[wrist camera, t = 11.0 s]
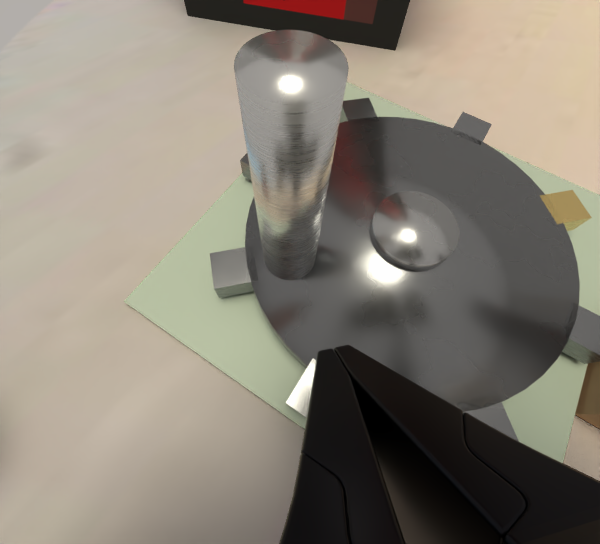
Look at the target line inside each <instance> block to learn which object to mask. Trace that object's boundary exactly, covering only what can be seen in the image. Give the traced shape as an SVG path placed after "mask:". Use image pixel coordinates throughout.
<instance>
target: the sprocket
mask: <svg viewBox="0 0 600 544" xmlns="http://www.w3.org/2000/svg"><path fill="white" fill-rule="evenodd" d="M234 70H235V77H236V83H237V89H238V96H239V102H240V109H241V115H242V122H243V128H244V135H245V141H246V147H247V154H246V155H245V156H244V157H243V158H242V159H241V160H240V162H241V167H242V173H243V176H245V177H246V178H248V179H250V180H252V186H253V192H254V197H253V200H252V203H251V206H250V209H249V213H248V218H247V223H246V234H245V247H243V248H237V249H231V250H226V251H220V252H214V253H210V261H211V269H212V277H213V286H214V290H215V292H216V293H217V295H218V297H219V298H221V297H227V296H232V295H237V294H242V293H247V292H253V291H254V294H255V297H256V299H257V301H258V304H259V306H260V309H261V311H262V314H263V315H264V317H265V319H266V321H267V322H268V324H269V326H270V328H271V329H272V331H273V333H274V334H275V335H276V337H277V338H278V339H279V340H280V342H281V343H282V344H283V346H284V347H285V348H286V350H287V351H288V352H289V353H290V354H291V355H292V356H293V357H294V358H295V359H296V360H297V361H298V362H299V363H300V364H301V365H302V366H303V367H304V368H306V370H305V372H304V374H303V375H302V377H301V379H300V380H299V382H298V384H297V385H296V387H295V388H294V390H293V392H292V393H291V395H290V397H289V398H288V400H287V402H286V404H287V405H288V406H290V407H291V408H293V409H294V410H296V411H297V412H298V413H300V414H301V415H303V416H304V417H306V418H307V414H308V408H309V401H310V395H311V389H312V383H313V377H314V371H315V365H316V359H317V353H318V351H320V350H325V349H330V348H332V349H334V348H335V347H339V346H343V345H351V346H353V347H354V348H356V349H358V350H359V351H361V352H363V353H365V354H366V355H368V356H370V357H372V358H373V359H375V360H377V361H378V362H380V363H382V364H384V365H385V366H387V367H389V368H390V369H392V370H394V371H396V372H397V373H399V374H401V375H402V376H404V377H406V378H408V379H409V380H411V381H413V382H415V383H416V384H418V385H420V386H421V387H423V388H425V389H427V390H428V391H430V392H432V393H433V394H435V395H437V396H439V397H440V398H442V399H444V400H446V401H447V402H449V403H451V404H452V405H454V406H456V407H458V408H459V409H461V410H462V411H463V413H464V412H466V413H468V414H470V415H472V416H473V417H475V418H477V419H478V420H480V421H482V422H484V423H486V424H487V425H489V426H491V427H493V428H495V429H496V430H498V431H500V432H502V433H504V434H505V435H507V436H509V437H511V438H513V439H515V440H517V441H518V438H517V436H516V434H515V431H514V429H513V427H512V425H511V422H510V420H509V418H508V415H507V413H506V411H505V408H504V406H503V404H502V401H505V400H507V399H509V398H511V397H512V396H514V395H516V394H518V393H520V392H522V391H523V390H525V389H527V388H528V387H529V386H530V385H532V384H533V383H534V382H535V381H537V380H538V379H539V378H540V377H542V376H543V375H544V374H545V373H546V372H547V370H548V369H549V368H550V367H551V366H552V365H553V364H554V362H555V361H556V360H557V359H558V357H559V356H560V354H561V352H564V353H565V354H567V355H569V356H571V357H573V358H575V359H576V360H578V361H580V362H582V363H584V364H588V363H594V362H600V316H599V315H597V314H595V313H593V312H591V311H589V310H587V309H585V308H583V307H581V306H579V291H580V280H579V272H578V264H577V260H576V256H575V252H574V249H573V245H572V242H571V240H570V237H569V235H568V232H567V231H570V230H574V229H575V228H577V227H578V226H580V225H581V224H583V223H584V222H586V221H588V220H589V219H591V218H592V217H591V216H590V214H589V213H588V211H587V210H586V208H585V207H584V206H583V204H582V203H581V201H580V200H579V198H578V197H577V195H576V194H575V192H574V191H573V190H568V191H562V192H557V193H551V194H544V192H543V191H542V190H541V189H540V188H539V187H538V186H537V184H536V183H535V182H534V181H533V180H532V179H531V178H530V177H529V176H528V175H527V174H526V173H525V172H524V171H523V170H522V169H520V168H519V167H518V166H517V165H516V164H515V163H513V162H512V161H511V160H509V159H508V158H507V157H505V156H504V155H503V154H501V153H500V152H498V151H497V150H495V149H494V148H492V147H490V146H489V145H487V144H486V143H484V142H482V141H483V140H484V138H485V136H486V134H487V132H488V130H489V128H490V127H491V125H492V124H490V123H487V122H485V121H483V120H481V119H478V118H476V117H474V116H471V115H469V114H467V113H464V112H463V113H462V114H461V116H460V118H459V119H458V121H457V123H456V124H455V126H454V128H450V127H447V126H443V125H440V124H436V123H433V122H428V121H423V120H418V119H412V118H402V117H377V115H376V113H375V110H374V108H373V106H372V103H371V101H370V99H369V98H362V99H354V100H346V101H343V99H344V93H345V88H346V82H347V76H348V62H347V59H346V57H345V55H344V53H343V52H342V51H341V49H340V48H339V47H338V46H337V45H335V44H334V43H333V42H331V41H330V40H328V39H326V38H324V37H322V36H320V35H317V34H314V33H311V32H306V31H300V30H278V31H272V32H267V33H264V34H261V35H259V36H257V37H255V38H253V39H251V40H250V41H248V42H247V43H246V44H244V45H243V46H242V47H241V49H240V50H239V51H238V53H237V55H236V58H235V61H234Z"/></svg>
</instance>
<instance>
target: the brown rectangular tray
mask: <svg viewBox="0 0 600 544" xmlns="http://www.w3.org/2000/svg"><path fill="white" fill-rule="evenodd" d="M575 415H576V416H578V417H580V418H582V419H583V420H585V421H587V422H588V423H590V424H592V425H594V426H595V427H597V428H599V429H600V362H594V363H588V365H587V369H586V373H585V377H584V381H583V385H582V389H581V393H580V397H579V401H578V405H577V409H576V412H575Z"/></svg>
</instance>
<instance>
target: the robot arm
mask: <svg viewBox="0 0 600 544" xmlns="http://www.w3.org/2000/svg"><path fill="white" fill-rule="evenodd" d="M279 544H600V481H598V480H596V479H594V478H592V477H590V476H588V475H586V474H584V473H582V472H580V471H578V470H576V469H573V468H571V467H569V466H567V465H565V464H563V463H561V462H559V461H557V460H555V459H553V458H551V457H549V456H547V455H545V454H543V453H541V452H539V451H537V450H535V449H533V448H531V447H529V446H527V445H525V444H523V443H521V442H519V441H517V440H515V439H513V438H511V437H509V436H507V435H505V434H504V433H502V432H500V431H498V430H496V429H495V428H493V427H491V426H489V425H487V424H486V423H484V422H482V421H480V420H478V419H477V418H475V417H473V416H472V415H470V414H468V413H466V412H464V413H463V411H462V410H461V409H459V408H458V407H456V406H454V405H452V404H451V403H449V402H447V401H446V400H444V399H442V398H440V397H439V396H437V395H435V394H433V393H432V392H430V391H428V390H427V389H425V388H423V387H421V386H420V385H418V384H416V383H415V382H413V381H411V380H409V379H408V378H406V377H404V376H402V375H401V374H399V373H397V372H396V371H394V370H392V369H390V368H389V367H387V366H385V365H384V364H382V363H380V362H378V361H377V360H375V359H373V358H372V357H370V356H368V355H366V354H365V353H363V352H361V351H359V350H358V349H356V348H354V347H353V346H351V345H343V346H339V347H335V348H334V349H332V348H330V349H325V350H320V351H318V353H317V359H316V365H315V371H314V377H313V383H312V389H311V395H310V401H309V408H308V414H307V420H306V426H305V432H304V438H303V444H302V450H301V455H300V461H299V467H298V473H297V478H296V482H295V487H294V492H293V497H292V501H291V505H290V508H289V512H288V516H287V519H286V523H285V527H284V530H283V533H282V537H281V540H280V543H279Z"/></svg>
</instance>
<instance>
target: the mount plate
mask: <svg viewBox="0 0 600 544" xmlns="http://www.w3.org/2000/svg"><path fill="white" fill-rule="evenodd" d="M362 98H369V99H370V101H371V103H372V106H373V108H374V110H375V113H376V115H377V117H402V118H412V119H418V120H423V121H428V122H433V123H436V124H440V123H437V122H435V121H433V120H431V119H429V118H426V117H424V116H422V115H420V114H417V113H415V112H413V111H411V110H408V109H406V108H404V107H402V106H400V105H397V104H395V103H393V102H391V101H388V100H386V99H384V98H382V97H379V96H377V95H375V94H373V93H371V92H368V91H366V90H364V89H362V88H359V87H357V86H355V85H353V84H350V83H348V82H346V88H345V93H344V99H343V101H346V100H354V99H362ZM440 125H442V124H440ZM443 126H444V125H443ZM490 147H491V146H490ZM492 148H493V147H492ZM494 149H495V148H494ZM495 150H497V151H498V152H500V153H501V154H503V155H504V156H505V157H507V158H508V159H509V160H511V161H512V162H513V163H515V164H516V165H517V166H518V167H519V168H520V169H522V170H523V171H524V172H525V173H526V174H527V175H528V176H529V177H530V178H531V179H532V180H533V181H534V182H535V183H536V184H537V186H538V187H539V188H540V189H541V190H542V191H543V192H544V194H551V193H557V192H562V191H568V190H573V191H574V192H575V194H576V195H577V197H578V198H579V200H580V201H581V203H582V204H583V206H584V207H585V208H586V210H587V211H588V213H589V214H590V216H591V217H592V218H591V219H589V220H588V221H586V222H584V223H583V224H581V225H580V226H578V227H577V228H575V229H574V230H570V231H567V232H568V235H569V237H570V240H571V242H572V245H573V249H574V252H575V256H576V260H577V264H578V272H579V280H580V291H579V306H581V307H583V308H585V309H587V310H589V311H591V312H593V313H595V314H597V315H599V316H600V195H598V194H596V193H594V192H591V191H589V190H587V189H585V188H583V187H580V186H578V185H576V184H574V183H571V182H569V181H567V180H565V179H562V178H560V177H558V176H556V175H553V174H551V173H549V172H547V171H545V170H542V169H540V168H538V167H536V166H533V165H531V164H529V163H527V162H524V161H522V160H520V159H518V158H516V157H513V156H511V155H509V154H507V153H504V152H502V151H500V150H498V149H495ZM253 197H254V192H253V186H252V180H250V179H248V178H246V177H245V176H243V173H242V174H241V175H240V176H239V177H238V178H237V179H236V180H235V181H234V182H233V184H232V185H231V186H230V187H229V188H228V189H227V190H226V191H225V192H224V193H223V194H222V196H221V197H220V198H219V199H218V200H217V201H216V202H215V203H214V204H213V205H212V206H211V207H210V209H209V210H208V211H207V212H206V213H205V214H204V215H203V216H202V217H201V218H200V219H199V220H198V222H197V223H196V224H195V225H194V226H193V227H192V228H191V229H190V230H189V231H188V232H187V233H186V235H185V236H184V237H183V238H182V239H181V240H180V241H179V242H178V243H177V244H176V245H175V247H174V248H173V249H172V250H171V251H170V252H169V253H168V254H167V255H166V256H165V257H164V258H163V260H162V261H161V262H160V263H159V264H158V265H157V266H156V267H155V268H154V269H153V270H152V271H151V273H150V274H149V275H148V276H147V277H146V278H145V279H144V280H143V281H142V282H141V283H140V284H139V286H138V287H137V288H136V289H135V290H134V291H133V292H132V293H131V294H130V295H129V296H128V297H127V299H126V300H125V301H124V302H125V303H126V304H128V305H129V306H131V307H132V308H134V309H135V310H136V311H138V312H139V313H141V314H142V315H143V316H145V317H146V318H148V319H149V320H151V321H152V322H153V323H155V324H156V325H158V326H159V327H160V328H162V329H163V330H165V331H166V332H167V333H169V334H170V335H172V336H173V337H175V338H176V339H177V340H179V341H180V342H182V343H183V344H184V345H186V346H187V347H189V348H190V349H192V350H193V351H194V352H196V353H197V354H199V355H200V356H201V357H203V358H204V359H206V360H207V361H209V362H210V363H211V364H213V365H214V366H216V367H217V368H218V369H220V370H221V371H223V372H224V373H225V374H227V375H228V376H230V377H231V378H233V379H234V380H235V381H237V382H238V383H240V384H241V385H242V386H244V387H245V388H247V389H248V390H250V391H251V392H252V393H254V394H255V395H257V396H258V397H259V398H261V399H262V400H264V401H265V402H267V403H268V404H269V405H271V406H272V407H274V408H275V409H276V410H278V411H279V412H281V413H282V414H284V415H285V416H286V417H288V418H289V419H291V420H292V421H293V422H295V423H296V424H298V425H299V426H300V427H302V428H303V429H305V426H306V420H307V418H306V417H304V416H303V415H301V414H300V413H298V412H297V411H296V410H294V409H293V408H291V407H290V406H288V405H287V404H286V402H287V400H288V398H289V397H290V395H291V393H292V392H293V390H294V388H295V387H296V385H297V384H298V382H299V380H300V379H301V377H302V375H303V374H304V372H305V370H306V368H304V367H303V366H302V365H301V364H300V363H299V362H298V361H297V360H296V359H295V358H294V357H293V356H292V355H291V354H290V353H289V352H288V351H287V350H286V348H285V347H284V346H283V344H282V343H281V342H280V340H279V339H278V338H277V337H276V335H275V334H274V333H273V331H272V329H271V328H270V326H269V324H268V322H267V321H266V319H265V317H264V315H263V314H262V311H261V309H260V306H259V304H258V301H257V299H256V297H255V294H254V291H253V292H247V293H242V294H237V295H232V296H227V297H221V298H219V297H218V295H217V293H216V292H215V290H214V286H213V277H212V269H211V261H210V253H214V252H220V251H226V250H231V249H237V248H243V247H245V234H246V223H247V218H248V213H249V209H250V206H251V203H252V200H253ZM587 365H588V364H584V363H582V362H580V361H578V360H576V359H575V358H573V357H571V356H569V355H567V354H565V353H564V352H561V354H560V356H559V357H558V359H557V360H556V361H555V362H554V364H553V365H552V366H551V367H550V368H549V369H548V370H547V372H546V373H545V374H544V375H543V376H542V377H540V378H539V379H538V380H537V381H535V382H534V383H533V384H532V385H530V386H529V387H528V388H527V389H525V390H523V391H522V392H520V393H518V394H516V395H514V396H512V397H511V398H509V399H507V400H505V401H502V404H503V406H504V408H505V411H506V413H507V415H508V418H509V420H510V422H511V425H512V427H513V429H514V431H515V434H516V436H517V438H518V441H519V442H521V443H523V444H525V445H527V446H529V447H531V448H533V449H535V450H537V451H539V452H541V453H543V454H545V455H547V456H549V457H551V458H553V459H555V460H557V461H559V462H561V463H563V460H564V456H565V452H566V448H567V444H568V440H569V436H570V432H571V428H572V424H573V420H574V416H575V412H576V409H577V405H578V401H579V397H580V393H581V389H582V385H583V381H584V377H585V373H586V369H587Z"/></svg>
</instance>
